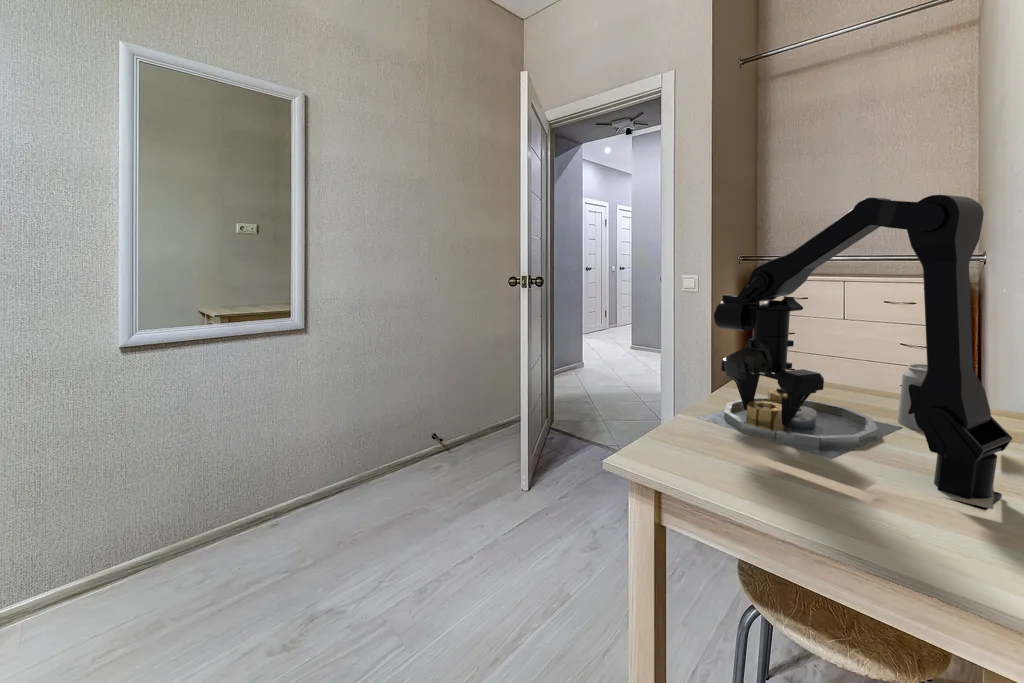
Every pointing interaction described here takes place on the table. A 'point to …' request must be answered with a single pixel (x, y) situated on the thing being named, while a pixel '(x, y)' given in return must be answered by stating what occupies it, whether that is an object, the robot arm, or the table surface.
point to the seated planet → (775, 396)
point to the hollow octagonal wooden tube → (765, 415)
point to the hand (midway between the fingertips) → (765, 417)
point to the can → (909, 377)
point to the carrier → (828, 436)
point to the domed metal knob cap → (804, 418)
